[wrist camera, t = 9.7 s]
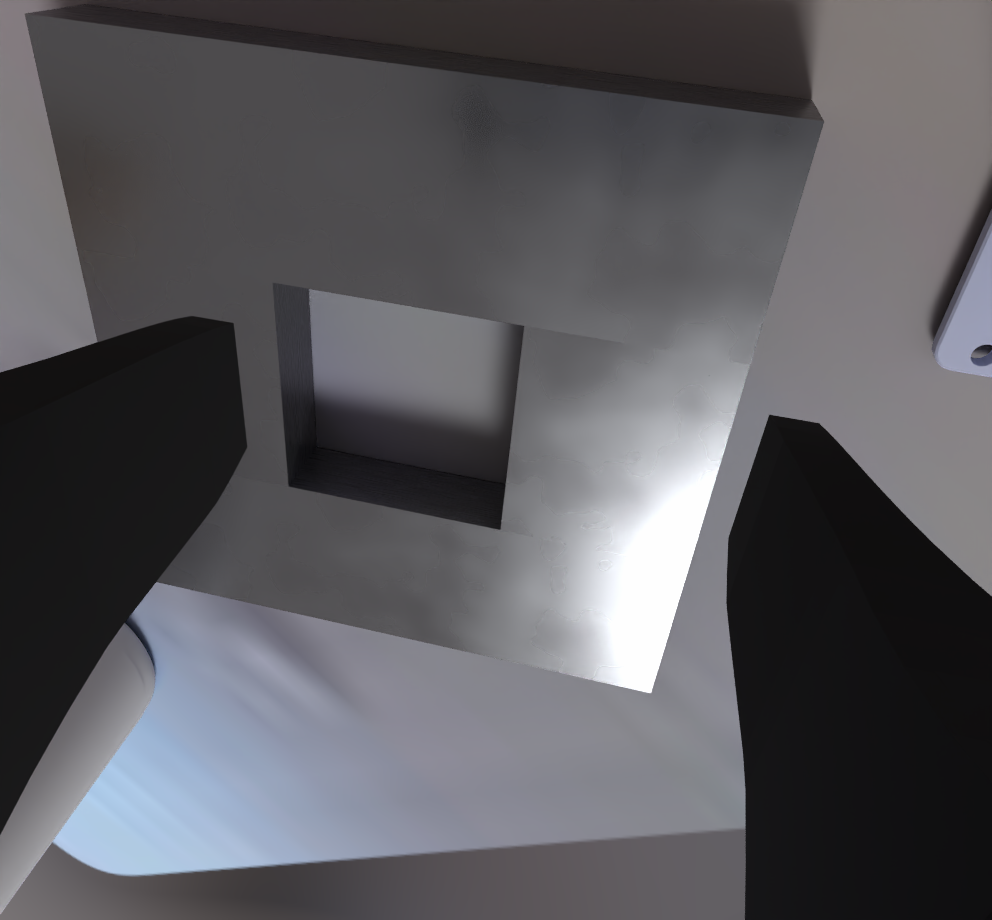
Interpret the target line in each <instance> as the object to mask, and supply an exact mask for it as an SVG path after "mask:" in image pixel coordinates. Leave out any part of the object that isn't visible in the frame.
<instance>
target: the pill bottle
mask: <svg viewBox="0 0 992 920" xmlns="http://www.w3.org/2000/svg"><path fill="white" fill-rule="evenodd" d="M154 688H155V671H154V667H153V664H152V661H151V659H150V656H149V654H148V652H147V651H146V649H145V647H144V646H143V644H142V643H141V641H140V640H139V638H138V637H137V636H136V635H135V633H134V632H133V631H132V630H131V629H130V628H129V627H128V626H127V625H126V624H125V623H124V624H123V626H122V627H121V629H120V630H119V631H118V633H117V634H116V636H115V637H114V638H113V640H112V641H111V643H110V644H109V645H108V647H107V648H106V650H105V652H104V653H103V655H102V657H101V658H100V660H99V661H98V663H97V665H96V666H95V668H94V670H93V671H92V673H91V674H90V676H89V678H88V679H87V681H86V683H85V684H84V686H83V688H82V689H81V691H80V692H79V694H78V696H77V697H76V699H75V701H74V702H73V704H72V705H71V707H70V709H69V711H68V712H67V714H66V716H65V718H64V719H63V721H62V723H61V725H60V726H59V728H58V730H57V732H56V733H55V735H54V737H53V739H52V740H51V742H50V744H49V746H48V747H47V749H46V751H45V753H44V754H43V756H42V758H41V760H40V761H39V763H38V765H37V767H36V768H35V770H34V772H33V774H32V776H31V777H30V779H29V781H28V783H27V785H26V787H25V789H24V791H23V793H22V795H21V796H20V798H19V800H18V802H17V804H16V806H15V808H14V810H13V812H12V814H11V816H10V817H9V819H8V821H7V823H6V825H5V827H4V829H3V831H2V833H1V835H0V914H1V913H2V911H3V910H4V908H5V907H6V906H7V904H8V903H9V901H10V900H11V898H12V897H13V896H14V894H15V893H16V892H17V890H18V889H19V887H20V886H21V885H22V883H23V882H24V880H25V879H26V878H27V876H28V875H29V873H30V872H31V871H32V869H33V868H34V866H35V865H36V864H37V862H38V861H39V859H40V858H41V857H42V855H43V854H44V852H45V851H46V850H47V848H48V847H49V845H50V844H51V843H52V841H53V840H54V839H55V837H56V836H57V834H58V833H59V832H60V830H61V829H62V827H63V826H64V825H65V823H66V822H67V820H68V819H69V818H70V816H71V815H72V813H73V812H74V811H75V809H76V808H77V806H78V805H79V804H80V802H81V801H82V799H83V798H84V797H85V795H86V794H87V792H88V791H89V790H90V788H91V787H92V785H93V784H94V783H95V781H96V780H97V778H98V777H99V776H100V774H101V773H102V771H103V770H104V769H105V767H106V766H107V764H108V763H109V762H110V760H111V759H112V757H113V756H114V755H115V753H116V752H117V750H118V749H119V748H120V746H121V745H122V743H123V742H124V741H125V739H126V738H127V736H128V735H129V734H130V732H131V731H132V729H133V728H134V727H135V725H136V724H137V722H138V721H139V720H140V718H141V717H142V715H143V713H144V711H145V709H146V708H147V706H148V704H149V703H150V701H151V698H152V696H153V693H154Z"/></svg>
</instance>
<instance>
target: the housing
mask: <svg viewBox="0 0 992 920" xmlns="http://www.w3.org/2000/svg"><path fill="white" fill-rule="evenodd" d="M25 17H26V21H27V26H28V30H29V35H30V39H31V44H32V48H33V53H34V57H35V62H36V66H37V71H38V75H39V80H40V84H41V89H42V93H43V98H44V102H45V107H46V111H47V116H48V120H49V125H50V129H51V134H52V138H53V143H54V147H55V152H56V156H57V161H58V165H59V170H60V174H61V179H62V183H63V188H64V192H65V197H66V201H67V206H68V210H69V215H70V219H71V224H72V228H73V233H74V237H75V242H76V246H77V251H78V256H79V260H80V265H81V269H82V274H83V278H84V283H85V287H86V292H87V296H88V301H89V305H90V310H91V314H92V319H93V323H94V328H95V332H96V337H97V341H98V342H100V341H103V340H106V339H109V338H112V337H116V336H119V335H122V334H125V333H128V332H131V331H134V330H138V329H141V328H144V327H147V326H151V325H154V324H158V323H161V322H165V321H169V320H173V319H177V318H183V317H188V316H196V317H202V318H208V319H214V320H219V321H225V322H231V323H234V330H235V339H236V348H237V357H238V366H239V375H240V384H241V393H242V402H243V411H244V420H245V430H246V439H247V449H246V451H245V453H244V455H243V457H242V459H241V460H240V462H239V464H238V466H237V468H236V470H235V472H234V474H233V476H232V478H231V479H230V481H229V483H228V485H227V486H226V488H225V490H224V492H223V493H222V495H221V497H220V498H219V500H218V502H217V503H216V505H215V506H214V507H213V509H212V510H211V511H210V513H209V514H208V516H207V517H206V518H205V520H204V521H203V522H202V523H201V525H200V526H199V527H198V529H197V530H196V531H195V533H194V534H193V535H192V537H191V538H190V539H189V541H188V542H187V543H186V544H185V546H184V547H183V548H182V550H181V551H180V552H179V553H178V555H177V556H176V557H175V559H174V560H173V561H172V562H171V564H170V565H169V566H168V567H167V569H166V570H165V571H164V573H163V574H162V575H161V576H160V578H159V579H158V580H157V582H159V583H163V584H168V585H172V586H177V587H181V588H186V589H190V590H195V591H199V592H203V593H208V594H212V595H217V596H221V597H226V598H230V599H235V600H239V601H243V602H248V603H252V604H257V605H261V606H266V607H270V608H275V609H279V610H283V611H288V612H292V613H297V614H301V615H306V616H310V617H315V618H319V619H323V620H328V621H332V622H337V623H341V624H346V625H350V626H355V627H359V628H363V629H368V630H372V631H377V632H381V633H386V634H390V635H395V636H399V637H403V638H408V639H412V640H417V641H421V642H426V643H430V644H435V645H439V646H443V647H448V648H452V649H457V650H461V651H466V652H470V653H475V654H479V655H483V656H488V657H492V658H497V659H501V660H506V661H510V662H515V663H519V664H523V665H528V666H532V667H537V668H541V669H546V670H550V671H555V672H559V673H563V674H568V675H572V676H577V677H581V678H586V679H590V680H595V681H599V682H603V683H608V684H612V685H617V686H621V687H626V688H630V689H635V690H639V691H644V692H648V693H651V690H652V687H653V684H654V681H655V677H656V674H657V671H658V667H659V664H660V661H661V657H662V654H663V651H664V648H665V644H666V641H667V638H668V634H669V631H670V628H671V625H672V621H673V618H674V615H675V611H676V608H677V605H678V601H679V598H680V595H681V592H682V588H683V585H684V582H685V578H686V575H687V572H688V568H689V565H690V562H691V559H692V555H693V552H694V549H695V545H696V542H697V539H698V536H699V532H700V529H701V526H702V522H703V519H704V516H705V512H706V509H707V506H708V503H709V499H710V496H711V493H712V489H713V486H714V483H715V479H716V476H717V473H718V470H719V466H720V463H721V460H722V456H723V453H724V450H725V447H726V443H727V440H728V437H729V433H730V430H731V427H732V423H733V420H734V417H735V414H736V410H737V407H738V404H739V400H740V397H741V394H742V390H743V387H744V384H745V381H746V377H747V374H748V371H749V367H750V364H751V361H752V358H753V354H754V351H755V348H756V344H757V341H758V338H759V334H760V331H761V328H762V325H763V321H764V318H765V315H766V311H767V308H768V305H769V301H770V298H771V295H772V292H773V288H774V285H775V282H776V278H777V275H778V272H779V268H780V265H781V262H782V259H783V255H784V252H785V249H786V245H787V242H788V239H789V236H790V232H791V229H792V226H793V222H794V219H795V216H796V212H797V209H798V206H799V203H800V199H801V196H802V193H803V189H804V186H805V183H806V179H807V176H808V173H809V170H810V166H811V163H812V160H813V156H814V153H815V150H816V147H817V143H818V140H819V137H820V133H821V130H822V127H823V123H824V120H823V119H822V117H821V115H820V113H819V111H818V110H817V108H816V106H815V104H814V103H813V101H812V100H807V99H799V98H792V97H784V96H776V95H769V94H761V93H754V92H746V91H738V90H731V89H723V88H716V87H708V86H701V85H693V84H685V83H678V82H670V81H663V80H655V79H647V78H640V77H632V76H625V75H617V74H610V73H602V72H594V71H587V70H579V69H572V68H564V67H556V66H549V65H541V64H534V63H526V62H519V61H511V60H503V59H496V58H488V57H481V56H473V55H465V54H458V53H450V52H443V51H435V50H427V49H420V48H412V47H405V46H397V45H390V44H382V43H374V42H367V41H359V40H352V39H344V38H336V37H329V36H321V35H314V34H306V33H299V32H291V31H283V30H276V29H268V28H261V27H253V26H245V25H238V24H230V23H223V22H215V21H208V20H200V19H192V18H185V17H177V16H170V15H162V14H154V13H147V12H139V11H132V10H124V9H117V8H109V7H101V6H94V5H86V4H84V5H78V6H72V7H65V8H59V9H52V10H46V11H39V12H33V13H26V14H25ZM308 289H313V290H319V291H325V292H331V293H336V294H342V295H348V296H354V297H360V298H365V299H371V300H377V301H383V302H389V303H394V304H400V305H406V306H412V307H418V308H423V309H429V310H435V311H441V312H447V313H452V314H458V315H464V316H470V317H476V318H481V319H487V320H493V321H499V322H505V323H510V324H516V325H522V326H524V332H523V341H522V349H521V358H520V367H519V375H518V384H517V392H516V401H515V410H514V418H513V427H512V435H511V444H510V453H509V461H508V470H507V478H506V485H503V484H498V483H493V482H488V481H483V480H478V479H473V478H468V477H463V476H458V475H453V474H448V473H443V472H438V471H433V470H428V469H422V468H417V467H412V466H407V465H402V464H397V463H392V462H387V461H382V460H377V459H372V458H367V457H362V456H357V455H352V454H347V453H342V452H336V451H331V450H326V449H321V448H317V445H316V426H315V407H314V387H313V368H312V349H311V330H310V311H309V291H308Z"/></svg>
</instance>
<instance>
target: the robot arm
mask: <svg viewBox="0 0 992 920" xmlns="http://www.w3.org/2000/svg"><path fill="white" fill-rule="evenodd" d="M981 345H992V209H991V211H990V214H989V216H988V218H987V221H986V223H985V225H984V227H983V230H982V232H981V234H980V236H979V239H978V241H977V243H976V245H975V248H974V250H973V252H972V254H971V257H970V259H969V261H968V263H967V266H966V268H965V270H964V272H963V275H962V277H961V279H960V281H959V284H958V286H957V288H956V290H955V293H954V295H953V297H952V299H951V302H950V304H949V306H948V309H947V311H946V313H945V315H944V318H943V320H942V322H941V324H940V327H939V329H938V331H937V333H936V336H935V338H934V340H933V344H932V352H933V355H934V358H935V359H936V361H937V363H938V364H939V365H940V366H941V367H942V368H945V369H948V370H951V371H957V372H963V373H969V374H974V375H980V376H986V377H992V350H991V351H990V352H989V354H988V355H986V356H984V357H982V358H972V357H971V353H972V352H973V351H974V350H975V349H976V348H977V347H979V346H981ZM246 449H247V439H246V430H245V420H244V411H243V402H242V393H241V384H240V375H239V366H238V357H237V348H236V339H235V330H234V323H231V322H225V321H219V320H214V319H208V318H202V317H196V316H188V317H183V318H177V319H173V320H169V321H165V322H161V323H158V324H154V325H151V326H147V327H144V328H141V329H138V330H134V331H131V332H128V333H125V334H122V335H119V336H116V337H112V338H109V339H106V340H103V341H100V342H97V343H94V344H91V345H88V346H85V347H82V348H79V349H76V350H73V351H69V352H66V353H63V354H60V355H57V356H54V357H51V358H48V359H45V360H41V361H38V362H35V363H31V364H28V365H24V366H21V367H18V368H14V369H11V370H7V371H4V372H1V373H0V835H1V833H2V831H3V829H4V827H5V825H6V823H7V821H8V819H9V817H10V816H11V814H12V812H13V810H14V808H15V806H16V804H17V802H18V800H19V798H20V796H21V795H22V793H23V791H24V789H25V787H26V785H27V783H28V781H29V779H30V777H31V776H32V774H33V772H34V770H35V768H36V767H37V765H38V763H39V761H40V760H41V758H42V756H43V754H44V753H45V751H46V749H47V747H48V746H49V744H50V742H51V740H52V739H53V737H54V735H55V733H56V732H57V730H58V728H59V726H60V725H61V723H62V721H63V719H64V718H65V716H66V714H67V712H68V711H69V709H70V707H71V705H72V704H73V702H74V701H75V699H76V697H77V696H78V694H79V692H80V691H81V689H82V688H83V686H84V684H85V683H86V681H87V679H88V678H89V676H90V674H91V673H92V671H93V670H94V668H95V666H96V665H97V663H98V661H99V660H100V658H101V657H102V655H103V653H104V652H105V650H106V648H107V647H108V645H109V644H110V643H111V641H112V640H113V638H114V637H115V636H116V634H117V633H118V631H119V630H120V629H121V627H122V626H123V624H124V623H125V621H126V620H127V619H128V617H129V616H130V615H131V614H132V612H133V611H134V610H135V609H136V607H137V606H138V605H139V603H140V602H141V601H142V600H143V598H144V597H145V596H146V594H147V593H148V592H149V591H150V589H151V588H152V587H153V585H154V584H155V583H156V582H157V580H158V579H159V578H160V576H161V575H162V574H163V573H164V571H165V570H166V569H167V567H168V566H169V565H170V564H171V562H172V561H173V560H174V559H175V557H176V556H177V555H178V553H179V552H180V551H181V550H182V548H183V547H184V546H185V544H186V543H187V542H188V541H189V539H190V538H191V537H192V535H193V534H194V533H195V531H196V530H197V529H198V527H199V526H200V525H201V523H202V522H203V521H204V520H205V518H206V517H207V516H208V514H209V513H210V511H211V510H212V509H213V507H214V506H215V505H216V503H217V502H218V500H219V498H220V497H221V495H222V493H223V492H224V490H225V488H226V486H227V485H228V483H229V481H230V479H231V478H232V476H233V474H234V472H235V470H236V468H237V466H238V464H239V462H240V460H241V459H242V457H243V455H244V453H245V451H246ZM727 613H728V623H729V632H730V642H731V651H732V660H733V669H734V677H735V686H736V695H737V704H738V712H739V721H740V730H741V739H742V747H743V758H744V773H745V788H746V886H745V887H746V891H745V920H992V596H990V595H989V594H988V593H987V592H986V591H985V590H984V589H982V588H981V587H980V586H979V585H978V584H977V583H975V582H974V581H973V580H972V579H971V578H970V577H969V576H968V575H967V574H965V573H964V572H963V571H962V570H961V569H960V568H959V567H958V566H957V565H956V564H955V563H954V562H953V561H952V560H950V559H949V558H948V557H947V556H946V555H945V554H944V553H943V552H942V551H941V550H940V549H939V548H938V547H936V546H935V545H934V544H933V543H932V542H931V541H930V540H929V539H928V538H927V537H926V536H925V535H924V534H923V533H922V532H921V531H920V530H919V529H918V528H917V527H916V526H915V525H914V524H913V523H912V522H911V521H910V520H909V519H908V518H907V517H906V516H905V515H904V514H903V513H902V512H901V510H900V509H899V508H898V507H897V506H896V505H895V504H894V503H893V502H892V501H891V500H890V499H889V498H888V497H887V496H886V495H885V493H884V492H883V491H882V490H881V489H880V488H879V487H878V486H877V485H876V484H875V483H874V482H873V480H872V479H871V478H870V477H869V476H868V475H867V474H866V473H865V472H864V471H863V469H862V468H861V467H860V466H859V465H858V464H857V463H856V462H855V461H854V459H853V458H852V457H851V456H850V455H849V454H848V453H847V452H846V451H845V450H844V448H843V447H842V446H841V445H840V444H839V443H838V442H837V441H836V440H835V439H834V438H833V437H832V436H831V435H830V434H829V432H828V431H827V430H825V429H824V428H823V427H822V426H821V425H820V424H819V423H814V422H808V421H803V420H797V419H791V418H785V417H779V416H773V415H769V418H768V421H767V424H766V427H765V430H764V433H763V436H762V439H761V442H760V445H759V448H758V451H757V454H756V457H755V460H754V463H753V466H752V469H751V472H750V475H749V478H748V481H747V484H746V487H745V490H744V493H743V496H742V499H741V502H740V505H739V508H738V511H737V514H736V517H735V520H734V523H733V526H732V529H731V532H730V535H729V540H728V564H727Z"/></svg>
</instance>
